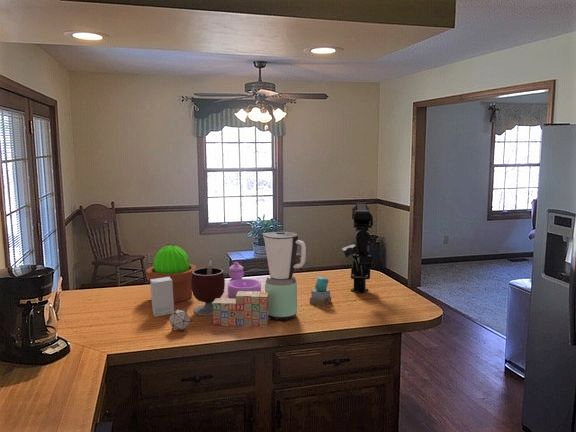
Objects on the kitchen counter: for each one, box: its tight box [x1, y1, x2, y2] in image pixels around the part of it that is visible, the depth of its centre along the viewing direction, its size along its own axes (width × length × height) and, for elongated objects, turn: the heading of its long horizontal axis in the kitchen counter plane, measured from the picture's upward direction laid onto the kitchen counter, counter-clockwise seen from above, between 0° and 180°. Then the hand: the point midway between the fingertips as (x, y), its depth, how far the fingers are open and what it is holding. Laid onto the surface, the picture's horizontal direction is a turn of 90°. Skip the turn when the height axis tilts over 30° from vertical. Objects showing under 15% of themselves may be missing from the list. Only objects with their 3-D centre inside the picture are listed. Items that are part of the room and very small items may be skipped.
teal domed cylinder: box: [314, 276, 329, 291], centre depth 218 cm, size 5×5×5 cm
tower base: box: [309, 295, 332, 307], centre depth 219 cm, size 7×7×3 cm
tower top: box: [310, 288, 331, 300], centre depth 218 cm, size 6×6×3 cm
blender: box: [261, 231, 307, 322], centre depth 198 cm, size 19×13×35 cm
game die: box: [166, 307, 193, 333], centre depth 186 cm, size 9×8×10 cm
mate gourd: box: [191, 259, 226, 316], centre depth 208 cm, size 16×14×20 cm
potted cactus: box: [145, 244, 198, 303], centre depth 225 cm, size 22×22×25 cm
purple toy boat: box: [227, 261, 262, 299], centre depth 231 cm, size 25×15×13 cm, turn 21°
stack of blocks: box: [212, 291, 270, 328], centre depth 193 cm, size 21×6×12 cm, turn 87°
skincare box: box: [150, 277, 175, 317], centre depth 204 cm, size 8×6×15 cm
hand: (361, 274), depth 217 cm, fingers open, 9 cm apart
